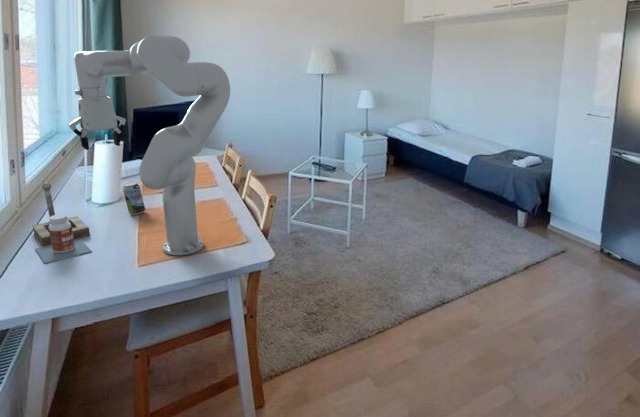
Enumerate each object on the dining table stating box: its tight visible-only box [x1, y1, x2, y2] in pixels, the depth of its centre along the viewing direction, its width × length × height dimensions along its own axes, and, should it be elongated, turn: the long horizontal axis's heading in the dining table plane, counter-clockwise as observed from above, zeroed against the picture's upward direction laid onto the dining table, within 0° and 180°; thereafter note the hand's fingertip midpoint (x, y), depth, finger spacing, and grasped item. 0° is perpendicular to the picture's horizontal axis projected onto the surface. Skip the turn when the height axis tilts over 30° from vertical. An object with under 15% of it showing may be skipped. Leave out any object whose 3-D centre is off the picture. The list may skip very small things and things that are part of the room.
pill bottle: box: [49, 213, 75, 253], centre depth 140 cm, size 6×6×11 cm
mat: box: [34, 238, 92, 265], centre depth 142 cm, size 13×13×1 cm
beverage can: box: [122, 182, 146, 216], centre depth 173 cm, size 6×7×12 cm
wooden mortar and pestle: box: [32, 182, 91, 247], centre depth 154 cm, size 19×14×16 cm
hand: (102, 147), depth 147 cm, fingers open, 9 cm apart
